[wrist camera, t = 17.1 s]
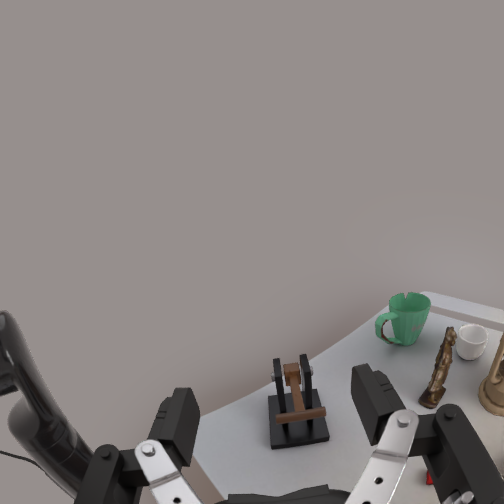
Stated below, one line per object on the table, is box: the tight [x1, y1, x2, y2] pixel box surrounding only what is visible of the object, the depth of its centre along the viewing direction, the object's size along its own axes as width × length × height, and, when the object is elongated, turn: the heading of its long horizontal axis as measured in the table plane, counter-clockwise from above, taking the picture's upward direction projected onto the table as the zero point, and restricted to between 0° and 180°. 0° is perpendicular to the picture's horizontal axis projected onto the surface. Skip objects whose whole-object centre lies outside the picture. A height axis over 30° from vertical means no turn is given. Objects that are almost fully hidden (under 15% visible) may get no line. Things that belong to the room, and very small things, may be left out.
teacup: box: [456, 324, 489, 360], centre depth 41 cm, size 10×8×5 cm
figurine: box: [419, 327, 457, 409], centre depth 33 cm, size 7×4×15 cm, turn 123°
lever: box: [275, 363, 326, 424], centre depth 32 cm, size 13×6×2 cm, turn 179°
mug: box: [375, 292, 431, 346], centre depth 52 cm, size 15×10×10 cm
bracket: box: [268, 354, 330, 450], centre depth 38 cm, size 12×9×13 cm
